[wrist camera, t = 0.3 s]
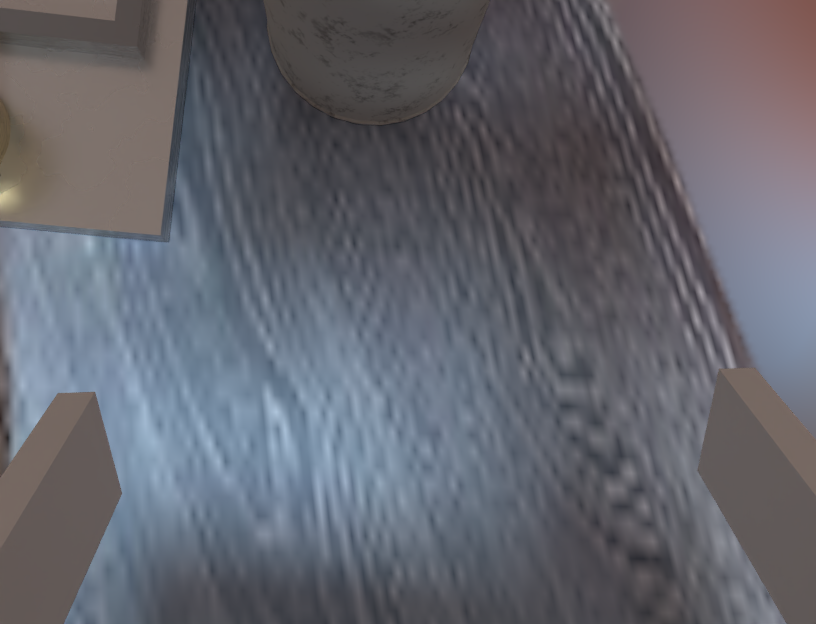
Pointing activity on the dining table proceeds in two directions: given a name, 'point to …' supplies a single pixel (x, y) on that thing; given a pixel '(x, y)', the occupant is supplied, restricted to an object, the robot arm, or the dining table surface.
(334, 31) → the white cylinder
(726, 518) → the robot arm
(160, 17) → the carrier plate
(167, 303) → the dining table surface
